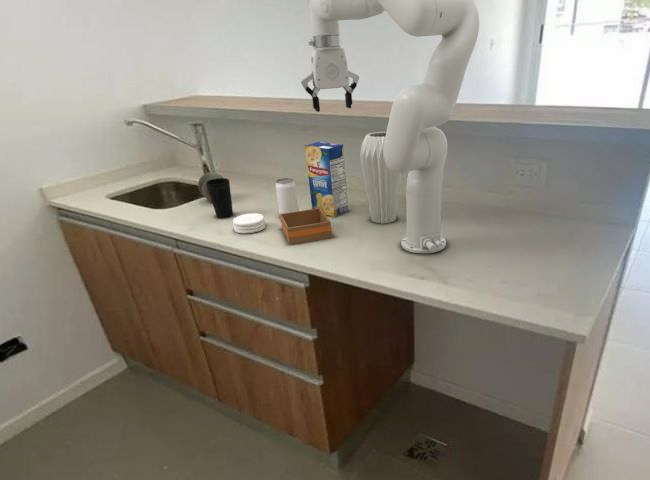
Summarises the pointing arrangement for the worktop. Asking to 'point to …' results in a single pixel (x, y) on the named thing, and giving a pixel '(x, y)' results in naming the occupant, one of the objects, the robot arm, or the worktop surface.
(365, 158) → the vase
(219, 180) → the cup
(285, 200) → the can
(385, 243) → the worktop surface
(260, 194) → the worktop surface
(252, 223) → the white round disc
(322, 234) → the wooden box
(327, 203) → the beverage box
